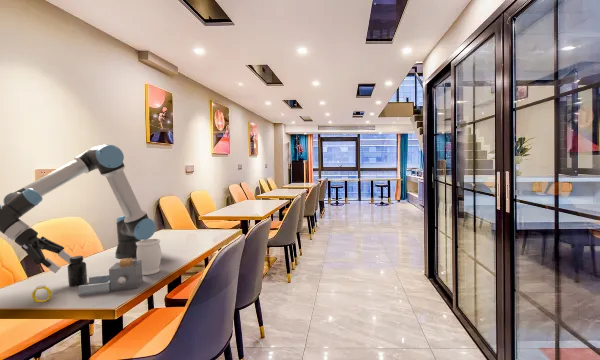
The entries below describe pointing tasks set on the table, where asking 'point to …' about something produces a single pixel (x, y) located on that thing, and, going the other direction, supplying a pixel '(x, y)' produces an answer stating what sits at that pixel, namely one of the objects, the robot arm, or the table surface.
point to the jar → (149, 255)
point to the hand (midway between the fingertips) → (65, 265)
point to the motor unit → (115, 278)
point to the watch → (41, 288)
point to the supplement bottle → (77, 271)
